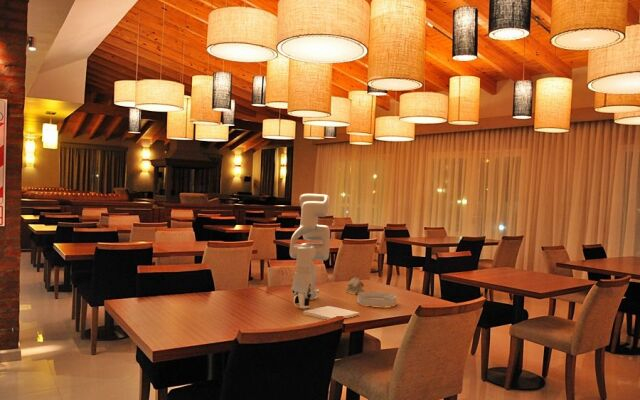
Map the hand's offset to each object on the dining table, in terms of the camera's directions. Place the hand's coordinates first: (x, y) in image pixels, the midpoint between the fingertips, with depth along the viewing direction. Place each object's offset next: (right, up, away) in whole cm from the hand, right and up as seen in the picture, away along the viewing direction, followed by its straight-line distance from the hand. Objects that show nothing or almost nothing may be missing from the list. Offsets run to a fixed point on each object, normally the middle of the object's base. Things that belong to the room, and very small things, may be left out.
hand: (301, 304), depth 274 cm
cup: (0, -2, 0) cm, 2 cm away
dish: (+41, -4, +20) cm, 46 cm away
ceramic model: (+32, -3, +50) cm, 60 cm away
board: (+15, -3, -13) cm, 20 cm away
